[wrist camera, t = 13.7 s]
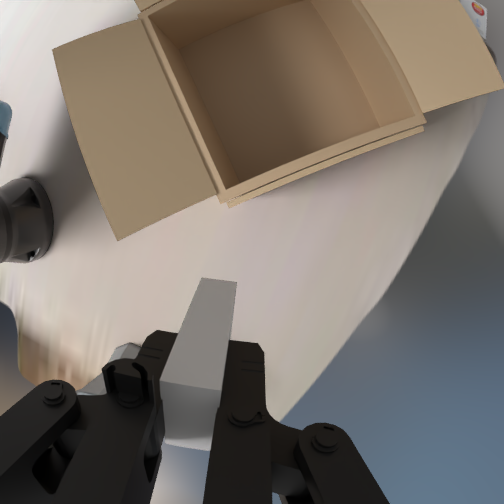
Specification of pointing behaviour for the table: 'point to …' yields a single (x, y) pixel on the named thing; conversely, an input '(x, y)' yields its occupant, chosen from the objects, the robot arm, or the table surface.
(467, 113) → the table surface
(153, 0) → the carton flap
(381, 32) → the carton
